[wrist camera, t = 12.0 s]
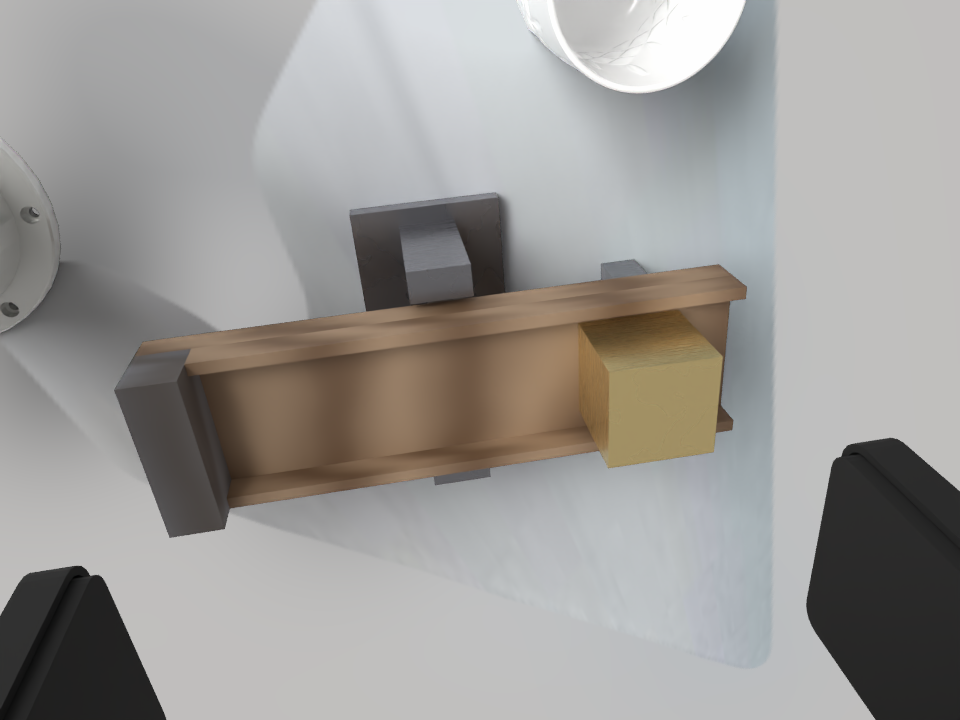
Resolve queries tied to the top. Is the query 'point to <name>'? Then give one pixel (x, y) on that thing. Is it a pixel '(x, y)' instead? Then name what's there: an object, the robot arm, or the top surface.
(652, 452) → the block
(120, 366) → the top surface
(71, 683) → the robot arm
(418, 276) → the pivot stand
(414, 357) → the beam
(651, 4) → the white cup
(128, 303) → the top surface
